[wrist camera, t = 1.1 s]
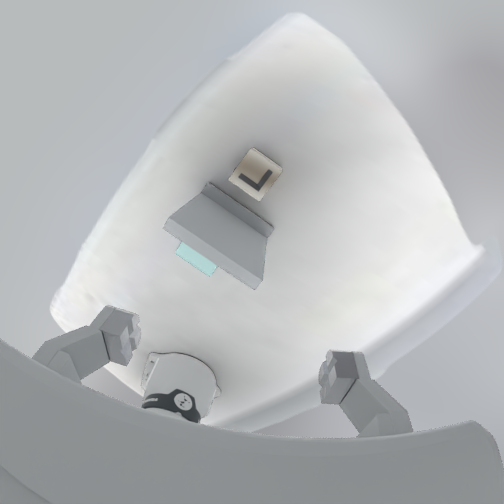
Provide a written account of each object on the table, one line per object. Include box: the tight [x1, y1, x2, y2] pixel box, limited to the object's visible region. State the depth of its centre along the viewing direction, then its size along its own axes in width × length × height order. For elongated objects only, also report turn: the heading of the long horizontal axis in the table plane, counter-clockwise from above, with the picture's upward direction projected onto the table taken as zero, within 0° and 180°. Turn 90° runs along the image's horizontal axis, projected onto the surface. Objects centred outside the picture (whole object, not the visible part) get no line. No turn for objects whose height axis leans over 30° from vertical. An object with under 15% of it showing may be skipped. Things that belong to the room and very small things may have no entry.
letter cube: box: [228, 148, 282, 202], centre depth 37 cm, size 5×5×5 cm
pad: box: [175, 242, 217, 277], centre depth 44 cm, size 7×7×1 cm
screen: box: [163, 182, 274, 290], centre depth 35 cm, size 5×12×14 cm, turn 55°
